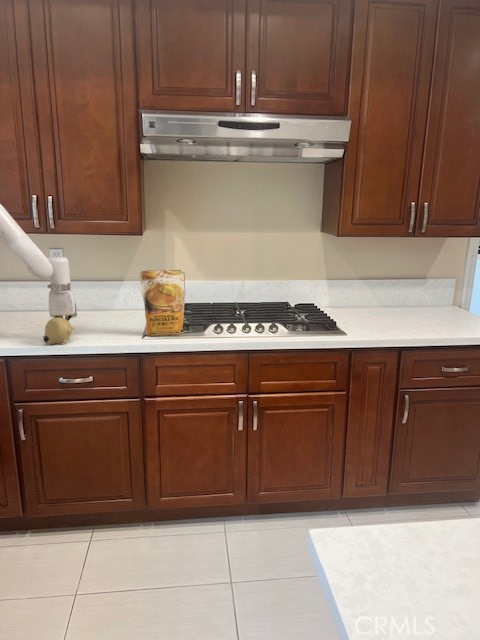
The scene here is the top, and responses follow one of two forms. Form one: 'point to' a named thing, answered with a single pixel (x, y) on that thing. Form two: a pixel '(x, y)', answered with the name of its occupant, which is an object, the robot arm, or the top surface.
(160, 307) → the pancake mix bag
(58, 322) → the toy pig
